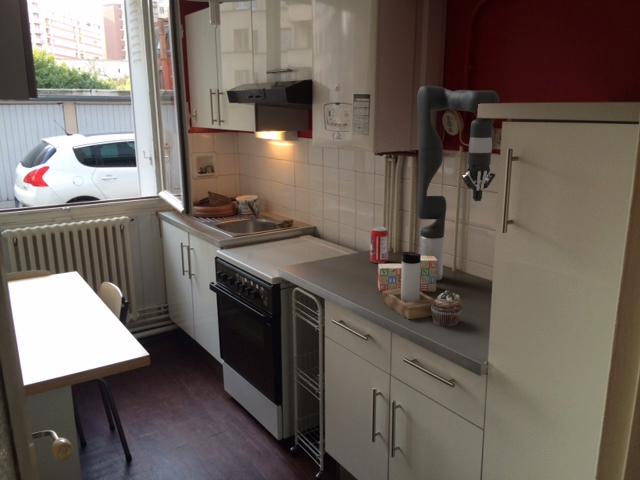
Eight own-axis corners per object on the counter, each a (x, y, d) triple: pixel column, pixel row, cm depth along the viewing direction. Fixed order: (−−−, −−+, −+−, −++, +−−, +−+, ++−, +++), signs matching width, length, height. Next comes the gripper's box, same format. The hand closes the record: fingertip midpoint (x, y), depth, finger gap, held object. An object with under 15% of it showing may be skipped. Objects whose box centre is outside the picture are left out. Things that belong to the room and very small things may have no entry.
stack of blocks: (379, 292, 206) (379, 260, 203) (377, 286, 212) (378, 255, 209) (436, 291, 206) (437, 259, 203) (433, 286, 212) (434, 255, 209)
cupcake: (439, 313, 184) (440, 285, 181) (466, 320, 178) (467, 291, 175) (424, 322, 177) (425, 292, 174) (451, 330, 171) (453, 299, 168)
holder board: (382, 301, 195) (382, 291, 194) (411, 297, 200) (411, 286, 199) (408, 319, 179) (408, 308, 178) (439, 314, 183) (440, 302, 182)
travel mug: (396, 307, 189) (397, 251, 185) (408, 303, 194) (410, 248, 189) (410, 312, 185) (411, 255, 180) (422, 308, 189) (424, 252, 184)
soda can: (383, 264, 240) (384, 231, 236) (367, 262, 244) (367, 229, 240) (390, 260, 246) (391, 227, 243) (374, 258, 250) (375, 226, 247)
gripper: (488, 149, 194) (485, 197, 198) (457, 150, 189) (454, 200, 193) (503, 150, 187) (499, 201, 191) (470, 152, 182) (467, 204, 187)
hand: (477, 200), depth 192 cm, fingers closed
